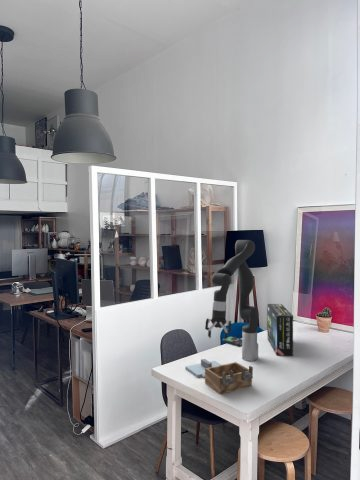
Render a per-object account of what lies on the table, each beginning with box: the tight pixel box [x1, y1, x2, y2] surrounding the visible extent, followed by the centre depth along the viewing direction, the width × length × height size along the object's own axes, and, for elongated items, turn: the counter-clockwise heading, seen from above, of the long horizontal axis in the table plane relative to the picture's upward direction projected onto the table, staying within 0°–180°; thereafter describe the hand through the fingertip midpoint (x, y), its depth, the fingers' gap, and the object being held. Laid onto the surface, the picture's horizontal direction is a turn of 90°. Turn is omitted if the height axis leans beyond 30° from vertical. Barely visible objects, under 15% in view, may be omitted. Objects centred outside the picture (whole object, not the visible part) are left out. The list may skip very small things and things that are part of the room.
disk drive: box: [221, 335, 242, 348], centre depth 259 cm, size 10×3×15 cm
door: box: [185, 358, 222, 379], centre depth 208 cm, size 20×16×5 cm
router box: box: [266, 303, 294, 357], centre depth 249 cm, size 36×11×27 cm, turn 177°
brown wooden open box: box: [204, 361, 254, 395], centre depth 189 cm, size 20×16×11 cm
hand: (217, 338), depth 200 cm, fingers open, 8 cm apart
